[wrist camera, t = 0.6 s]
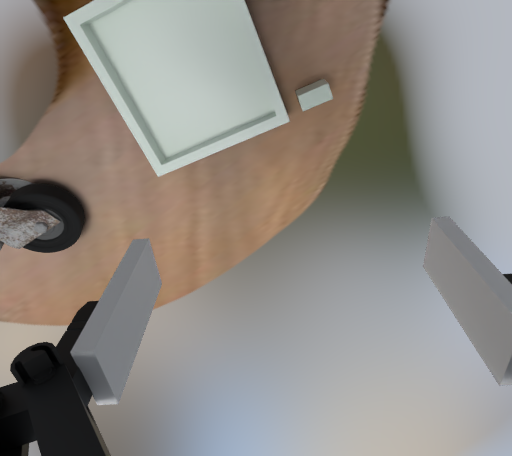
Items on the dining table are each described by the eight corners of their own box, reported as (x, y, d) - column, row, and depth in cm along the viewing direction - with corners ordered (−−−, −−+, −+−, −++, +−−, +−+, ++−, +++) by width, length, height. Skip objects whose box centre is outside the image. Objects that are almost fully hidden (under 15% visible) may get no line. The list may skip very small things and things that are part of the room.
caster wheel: (101, 209, 47) (41, 247, 48) (26, 140, 40) (-41, 187, 41) (95, 240, 41) (27, 283, 43) (7, 168, 35) (-70, 220, 36)
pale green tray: (76, 17, 34) (60, 17, 31) (270, -91, 30) (271, -102, 27) (164, 168, 41) (157, 178, 38) (329, 97, 37) (334, 103, 34)
